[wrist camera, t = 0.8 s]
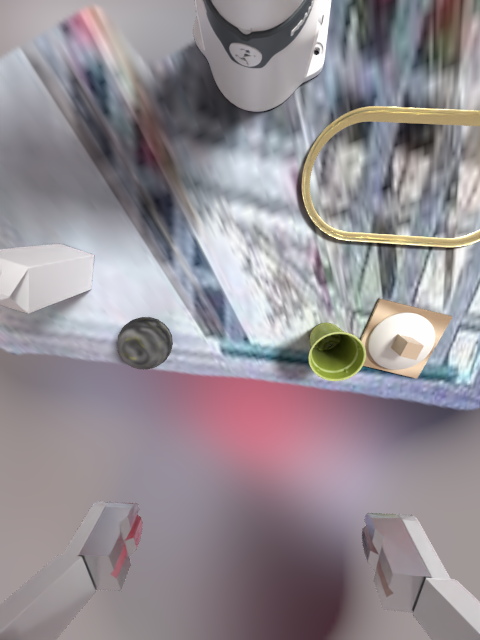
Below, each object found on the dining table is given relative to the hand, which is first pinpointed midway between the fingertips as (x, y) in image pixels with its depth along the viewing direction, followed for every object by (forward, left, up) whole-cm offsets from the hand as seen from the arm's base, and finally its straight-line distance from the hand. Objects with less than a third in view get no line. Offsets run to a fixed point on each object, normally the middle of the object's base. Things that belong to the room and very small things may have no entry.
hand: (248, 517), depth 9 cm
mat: (+5, +30, -42) cm, 51 cm away
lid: (+5, +30, -41) cm, 51 cm away
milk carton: (+6, -35, -42) cm, 55 cm away
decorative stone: (+16, -18, -42) cm, 48 cm away
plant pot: (+8, +16, -42) cm, 45 cm away
